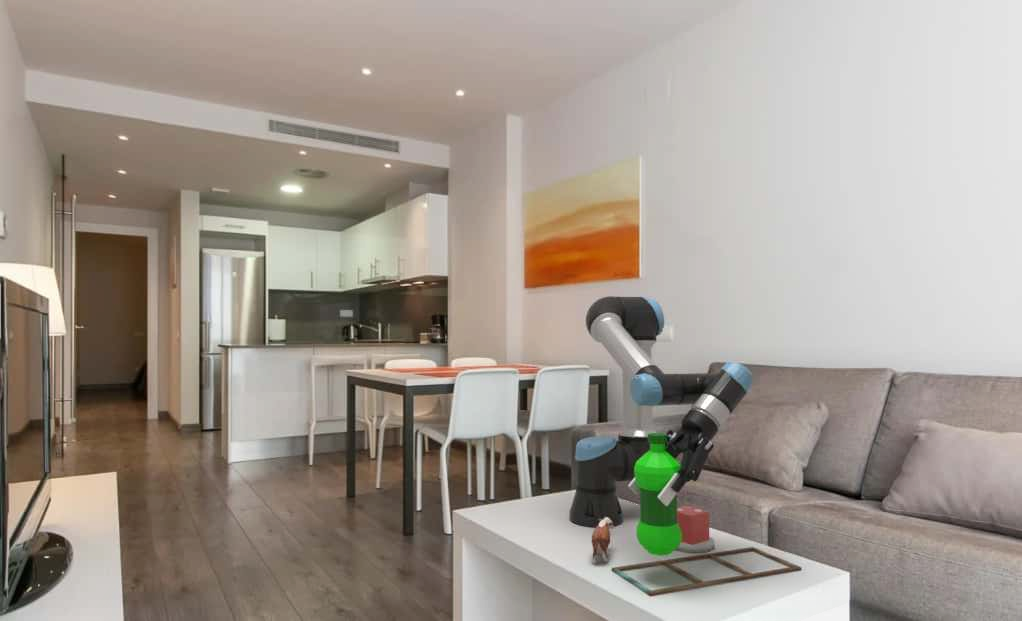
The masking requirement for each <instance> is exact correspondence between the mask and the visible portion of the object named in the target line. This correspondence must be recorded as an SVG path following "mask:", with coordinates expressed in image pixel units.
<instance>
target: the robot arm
mask: <svg viewBox="0 0 1022 621" xmlns="http://www.w3.org/2000/svg"><path fill="white" fill-rule="evenodd" d="M585 327H586V329H587V332H588V333H589V336H591V338H592V339H593V340H594V341H595V342H597V343H600V344H601V345H602V346H603V347H604V349H605V350H606V351H607V352H608V353H609V355H610V356H611V357H612V359H613V360H614V362H615V363H616V364H617V365H618V366H619V368H620V369H621V370H622V424H623V426H622V429H621V430H619V432H618V433H617V438H616V437H615V436H612V435H596V436H589V437H588V436H587V437H585V438H583V439H580V440H579V441H578V442H577V443H576V446H575V454H574V459H575V492H574V497H573V499H572V502H571V506H570V509H569V521H571V522H572V523H574V524H577V525H579V526H584V527H585V526H586V527H591V528H594V527H595V528H596V527H597V526H598V524H599V523H600V522H599V521H598V519H602V520H604V518H605V517H608V518H609V519H610V520H611V521H612V522H613V527H614V526H618V525H620V524H622V523H623V517H624V516H623V515H624V514H623V510H622V507H621V503H620V501H619V498H618V493H617V483H618V482H619V483H620V482H629V481H630V483H628V485H627V487H628V488H629V489H630V490H631V491H632V492H633V493H634V494H635V495H638V494H639V493H640V487H639V485H638V484H637V483H636V480H635V475H634V467H635V464H636V462H637V461H638V460H639V459H640V458H641V457H642V456H643V455H644V454H645V453H647V452H648V451H649V450H650V443H648V434H650V433H657V431H655V430H654V428H653V424H654V423H653V422H654V421H653V419H654V418H653V417H654V416H653V407H658V406H683V405H685V406H687V405H689V406H690V405H692V406H691V409H690V410H689V411H688V412H687V413H686V414H685V416H684V417H683V418H682V419H681V429H680V430H679V431H677V432H674V431H673V430H672V429H669V430H668V431H667V432H666V434H667V444H665V451H666V452H668V453H669V454H670V455H671V456H672V457H673V456H678V455H680V454H682V458H681V463H680V470H677V472H678V473H679V474H680V475H678V474H677V473H675V474H674V475H673V477H672V478H671V479H670V481H669V482H668V483H667V485H666V486H665V487H664V489H663V490H662V491H661V493H660V494H659V495H658V498H659V500H660V501H661V502H662V503H663V504H664V505H665V506H668V505H669V503H670V502H671V501H672V499H673V498H674V497H675V495H676V494H678V493H680V491H681V490H682V489H683V487H684V486H685V485H686V483H689V482H690V481H693V482H696V481H698V480H699V477H700V475H701V472H702V470H703V468H704V466H705V463H706V462H707V459H708V456H709V454H710V453H711V451H712V450H713V448H715V445H714V443H713V442H712V440H713V439H714V437H715V436H716V435H717V433H718V432H719V429H720V428H722V426H723V425H724V423H725V422H726V421H727V419H728V418H729V416H730V415H731V414H732V413H733V411H734V410H735V409H736V408H737V406H738V405H739V404H740V403H741V402H742V400H743V399H744V398H745V396H746V395H747V394H748V392H749V389H750V388H751V387H752V386H753V384H754V381H755V379H754V375H753V373H752V372H751V371H750V370H749V368H747V366H745V365H743V364H741V363H740V362H736V361H728V362H726V363H725V364H724V365H723V366H721V368H720V370H719V371H716V372H715V371H714V372H710V373H709V372H703V373H699V372H697V373H664V371H663V370H661V368H659V366H658V365H657V364H656V363H655V362H654V361H653V360H652V348H653V346H654V345H655V344H656V343H657V336H658V337H659V335H661V334H662V332H663V330H664V327H665V315H664V312H663V309H662V307H661V305H660V304H659V302H658V301H657V300H656V299H654V298H652V297H644V296H612V295H608V296H605V297H604V296H603V297H601V298H599V299H596V300H595V301H594V302H593V303H592V304H591V305H590V306H589V308H588V310H587V313H586V316H585Z"/></svg>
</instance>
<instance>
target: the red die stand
mask: <svg viewBox="0 0 1022 621" xmlns="http://www.w3.org/2000/svg"><path fill="white" fill-rule="evenodd" d="M677 523H678V524H679V527H680V530H681V533H682V541H681V543H680V545H679V547H678V548H676V549H675V550H674V551H677V552H682V553H689V554H692V553H693V554H694V553H695V554H700V553H701V554H702V553H703V554H704V553H709V552H711V551H713V550H714V549H715V540H714V539H713V538H712V537H711V536H710V511H709V510H704V509H701V508H698V507H692V506H689V505H682V506H679V507H678V506H677Z"/></svg>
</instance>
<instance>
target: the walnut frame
mask: <svg viewBox="0 0 1022 621" xmlns="http://www.w3.org/2000/svg"><path fill="white" fill-rule="evenodd" d="M748 552H754V553H756V554H759V555H761V556H763V557H764V558H767V559H770V560H772V561H774V562H777V563H778V564H779V563H780V564H781V565H784V566H786V567H782V568H777V569H771V570H770V569H769V570H766V571H759V572H754V573H753V572H750V571H748V570H746V569H745V568H742V567H739V566H738V565H735V564H733V563H731V562H729V561H726V560H725V559H723V558H721V557H722V556H729V555H736V554H742V553H748ZM703 559H711V560H713V561H715V562H717V563H719V564H722V565H724V566H726V567H728V568H730V569H731V570H734V571H736V572H738V573H740V574H741V575H735V576H729V577H723V578H718V579H711V580H707V581H703V580H702V579H700V578H698V577H696V576H694V575H693V574H690V572H687V571H685V570H683V569H681V568H680V567H678V566H676V565H675V564H676V563H682V562H683V563H685V562H690V561H697V560H703ZM657 566H665V567H667V568H669V569H670V570H672V571H674V572H676V573H677V574H679V575H681V576H683V577H685V578H686V579H688V580H690V581H692V582H693V583H688V584H681V585H675V586H669V587H663V588H658V589H650V588H648V587H647V586H645V585H644V584H642V583H641V582H639V581H637V580H636V579H634V578H633V577H631V576H629V575H628V574H627V573H625V572H624V571H632V570H636V569H637V570H639V569H643V568H644V569H645V568H649V567H650V568H651V567H657ZM611 571H612V572H614V574H616V575H617V576H619V577H621V578H622V579H623V580H625V581H627V582H629V583H630V584H631V585H633V586H634V587H636V588H637V589H638V590H640V591H641V592H643V593H645V594H647V595H648V596H650V597H652V596H658V595H664V594H671V593H675V592H681V591H688V590H692V589H699V588H705V587H710V586H711V587H712V586H717V585H721V584H722V585H723V584H728V583H734V582H735V583H736V582H740V581H744V580H751V579H758V578H763V577H768V576H770V577H771V576H773V575H774V576H775V575H781V574H786V573H791V572H792V573H793V572H798V571H802V567H801V566H799V565H796V564H795V563H792V562H790V561H787V560H785V559H783V558H780V557H778V556H775V555H773V554H770V553H768V552H766V551H763V550H762V549H759V548H756V547H753V546H750V547H742V548H736V549H731V550H730V549H729V550H724V551H718V552H717V551H715V552H710V553H709V552H708V553H703V554H702V553H701V554H697V555H690V556H689V555H688V556H682V557H675V558H669V559H668V558H667V559H663V560H657V561H655V560H654V561H650V562H642V563H635V564H630V565H629V564H628V565H622V566H617V567H616V566H614V567H611Z"/></svg>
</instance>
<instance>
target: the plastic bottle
mask: <svg viewBox="0 0 1022 621" xmlns="http://www.w3.org/2000/svg"><path fill="white" fill-rule="evenodd" d="M648 443H650V450H649V451H648V452H647V453H645V454H644V455H643V456H642V457H641V458H640V459H639V460H638V461H637V462H636V464H635V467H634V475H635V480H636V483H637V484H638V485H639V487H640V491H639V493H640V494H639V495H640V519H639V520H638V522H637V525H636V538H637V541H638V544H639V545H640V546H641V548H643V549H644V550H645V551H646V552H647V553H649V554H650V555H654V556H668V555H671V554H672V552H674V551H676V550H675V549H676V548H678V547H679V545H680V543H681V541H682V533H681V530H680V527H679V524H678V523H677V508H678V503H677V502H678V500H677V499H678V497H677V496H678V495H677V494H678V493H677V494H676V495H675V497H674V498H673V499H672V501H671V502H670V503H669V505H668V506H665V505H664V504H663V503H662V502H661V501H660V500H659V498H658V495H659V494H660V493H661V491H662V490H663V489H664V487H665V486H666V485H667V483H668V482H669V481H670V479H671V478H672V477H673V475H674V474H675V473H677V474H678V475H680V474H679V473H678V472H677V470H680V467H681V464H680V463H679V462H678V461H677V460H676V459H675V458H674V457H673V456H671V455H670V454H669V453H668V452H666V451H665V444H667V433H661V432H656V433H650V434H648Z"/></svg>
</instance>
